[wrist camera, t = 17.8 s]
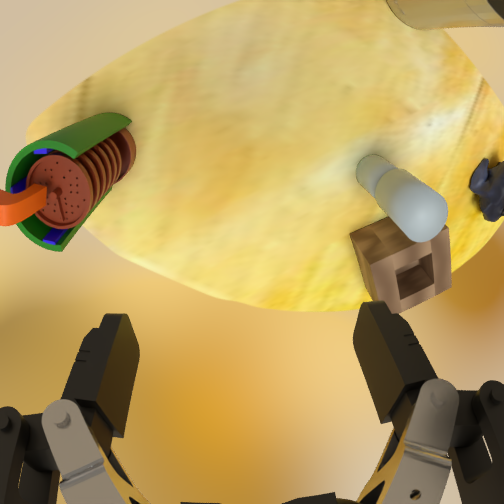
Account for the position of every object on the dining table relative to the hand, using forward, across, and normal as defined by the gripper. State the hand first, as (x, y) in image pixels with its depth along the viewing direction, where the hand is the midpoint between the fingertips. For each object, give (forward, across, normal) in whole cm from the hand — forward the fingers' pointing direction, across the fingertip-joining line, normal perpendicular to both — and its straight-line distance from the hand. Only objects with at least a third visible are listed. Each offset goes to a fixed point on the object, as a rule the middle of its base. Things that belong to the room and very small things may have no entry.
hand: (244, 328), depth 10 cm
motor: (+30, +16, 0) cm, 35 cm away
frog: (+30, -41, +4) cm, 51 cm away
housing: (+30, -24, +16) cm, 41 cm away
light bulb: (+30, -18, +4) cm, 35 cm away
